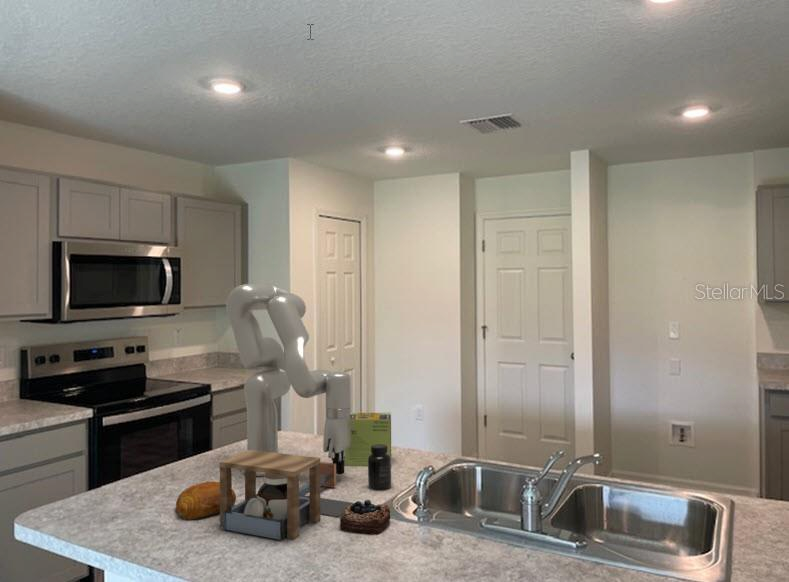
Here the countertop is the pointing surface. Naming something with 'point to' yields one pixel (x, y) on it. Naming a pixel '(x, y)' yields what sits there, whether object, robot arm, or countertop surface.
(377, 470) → the supplement bottle
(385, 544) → the countertop surface
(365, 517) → the pastry
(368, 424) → the protein box
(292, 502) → the walnut table
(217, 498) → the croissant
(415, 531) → the countertop surface
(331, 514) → the pit mat
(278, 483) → the spread jar
